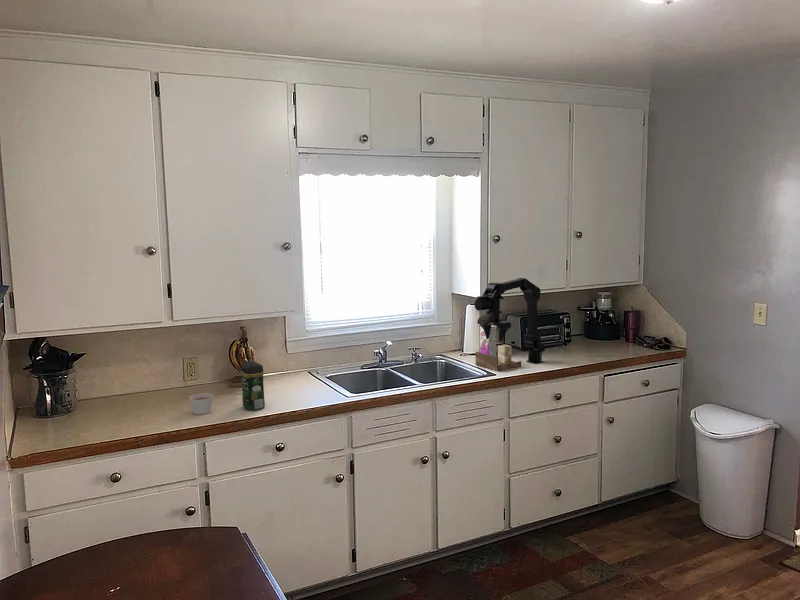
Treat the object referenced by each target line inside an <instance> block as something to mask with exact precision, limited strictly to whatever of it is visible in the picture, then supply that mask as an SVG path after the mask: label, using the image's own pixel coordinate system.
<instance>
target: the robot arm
mask: <svg viewBox="0 0 800 600" xmlns="http://www.w3.org/2000/svg"><path fill="white" fill-rule="evenodd" d="M518 288H519V289H520V291H521V292H522V293H523V298H524V300H525V302H526V305H527V306H526V310H527V319H526V320H527V323H526V324H527V332H526V333H524V334H523V337H522V338H523V344H524V346H525V348H526V350H528V356H527V359H528V360H526V362H527V363H531V364H541V363H544V362H545V361H544V360H543V357H542V356H543V352H545V351H546V346H545V345H544V343H543V342H542V339H541V338H542V337H541V335H540V333H539V331H538V303H539V301H540V298H541V288H540V287H539V286H536V285H535V284H533V282H531V281H529V279H527V278H525V277H518V278H516V279H512V280H507V281H504V282H488V284H487V285H486V288H485V289H484V291H483V293H482V295H478V296H477V297H476V299H475V301H474V303H473V304H474V305H473V307H474V308H475V310H476V311H485V314H483V315H481V316H480V317H478V319H477V324H478V327H479V326H481V327H482V328H483V330H484V332H485V336H486V339H489V336H490V330H491V325H493V326H496V331H497V332H498V342H499V343H502V341H503V339H504V337H505V335H506V333H507V332H508V330H510V329H511V328H512V323H511V322H510V321H506V320H504V321H503V318H501V314H503V310H501V300H504V299H505V298H504V297H503V296H502V295H503V294H504V293H505V292H508V291H510V290H514V289H518ZM479 324H480V325H479Z"/></svg>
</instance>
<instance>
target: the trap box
mask: <svg viewBox="0 0 800 600" xmlns="http://www.w3.org/2000/svg"><path fill="white" fill-rule="evenodd" d="M475 365H477V366H476V367H479V366H480V367H479V368H482V367H483V368H482V369H486V368H487V370H489V369H490V370H489V371H493V370H494V372H496V371H498V372H503V371H502V370H504V371H508V370H507V369H509V370H514V369H518V368H519V367H520V368H522V360H520V361H514V360H511V362H507V363H503V362H499V361H498V355H496V356H491V355H487V354H483V353H480V352H479V351H475ZM513 368H514V369H513Z"/></svg>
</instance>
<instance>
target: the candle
mask: <svg viewBox="0 0 800 600" xmlns="http://www.w3.org/2000/svg"><path fill="white" fill-rule="evenodd" d="M213 398H214V395H213V394H211V393H205V392H202V393H196V394H192V395H190V396H189V397H188V399H189V404H190V408H191V412H192V413H193V414H194V415H207V414H209V413H211V411H212V405H213V400H214V399H213Z"/></svg>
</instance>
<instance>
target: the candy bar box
mask: <svg viewBox="0 0 800 600" xmlns="http://www.w3.org/2000/svg"><path fill="white" fill-rule="evenodd" d="M480 353H483V354H487V355H491V356H497V325H491V330H490V336H489V339H486V336H485V332H484V330H483V328H482V327H481V326H480Z"/></svg>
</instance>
